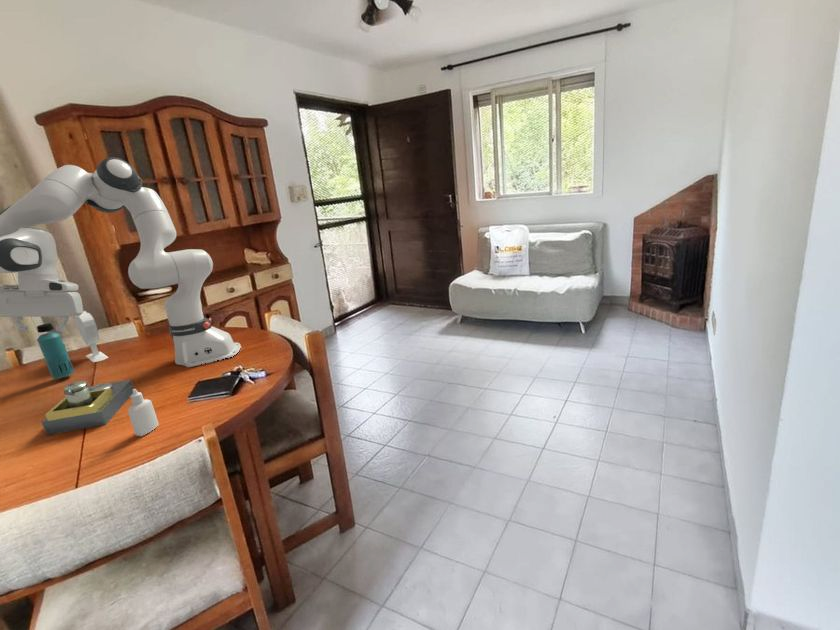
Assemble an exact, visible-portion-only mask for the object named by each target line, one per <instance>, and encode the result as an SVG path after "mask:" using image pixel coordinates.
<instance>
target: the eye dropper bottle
mask: <svg viewBox="0 0 840 630" xmlns="http://www.w3.org/2000/svg"><path fill="white" fill-rule="evenodd" d="M129 398H130V400H131V402H132V404H131V405H130V407H129V408H128V416H129V419H130V422H131V423H130V424H131V426H132V429H133V431H134V434H135V437H144V436H143V435H145V434H147V433H149V432H150V433H152V432H153V431H155V430H156V429H157V428H158V427H159V421H158V417H157V414H156V412H155V411H156V410H155V408H154V404H153V403H152V400H151V399H147V398H146V399H144V397H143V393H142V392H140V391H138V390H137V389H136V388H134V389H133V394H132V395H131V396H130V397H129ZM157 426H158V427H157ZM156 427H157V428H156ZM155 428H156V429H155ZM154 429H155V430H154ZM152 430H153V431H152ZM151 431H152V432H151ZM150 433H149V434H150ZM147 435H148V434H147ZM145 436H146V435H145Z"/></svg>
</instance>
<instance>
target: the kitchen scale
mask: <svg viewBox="0 0 840 630" xmlns="http://www.w3.org/2000/svg"><path fill="white" fill-rule="evenodd" d="M88 388H89V391H90V394H91V397H92V400H93V403H92V404H91V405H87V406H82V407H76V408H70V405H69V403H68V400H67V397H66V396H65V397H63V398H62V399H61V400H60V401H59V402H58V403H56V404H55V405H54V406H53V407H51V409H50V410H48V411H47V412H46V413H45V418H44V419H43V420H42V421H41V425H42V427H43V429H44V432H45V434H46V435H47V436H49V435H50V436H51V435H55V434H62V433H66V432H72V431H77V430H83V429H84V430H85V429H90V428H94V427H100V426H105V425H107V424H108V423H109V422H110V420H111V419H112V418H113V417H114V416H115V415H116V413H117V412H118V411H119V410H120V409H121V407H122V406H123V405H124V404H126V402H127V401H128V399H130V398H131V397H130V396H131V395H132V394H133V389H135V387H134V384H133V381H132V379H127V380H121V381H120V380H119V381H113V382H104V383H99V384H96V385H91V386H89V385H88Z"/></svg>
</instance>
